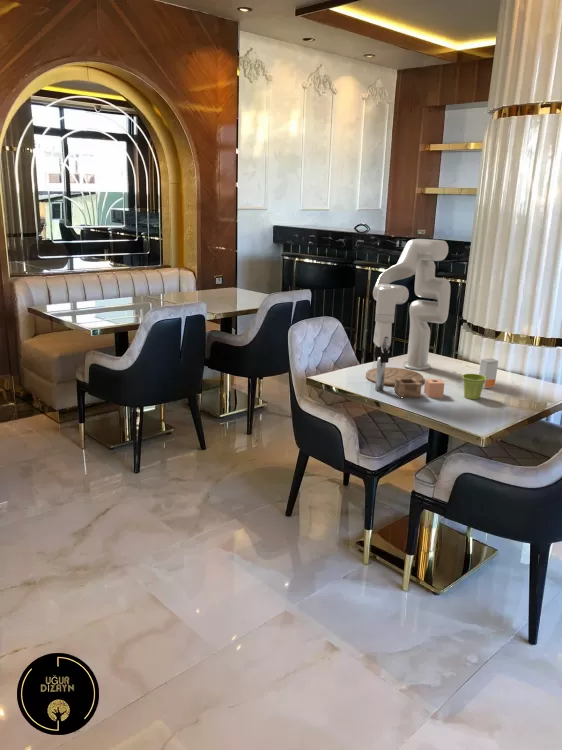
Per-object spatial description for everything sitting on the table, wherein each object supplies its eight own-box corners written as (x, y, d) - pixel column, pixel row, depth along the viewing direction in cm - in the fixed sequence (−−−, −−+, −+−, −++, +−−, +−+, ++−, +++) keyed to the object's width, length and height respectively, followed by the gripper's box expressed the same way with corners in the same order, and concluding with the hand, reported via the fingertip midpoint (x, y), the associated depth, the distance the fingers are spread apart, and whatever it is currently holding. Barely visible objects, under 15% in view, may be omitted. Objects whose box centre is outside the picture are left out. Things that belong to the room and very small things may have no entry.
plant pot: (466, 401, 245) (469, 380, 242) (455, 394, 254) (457, 373, 251) (488, 400, 247) (490, 379, 244) (476, 393, 255) (479, 373, 253)
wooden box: (394, 392, 254) (395, 378, 252) (413, 392, 255) (415, 378, 253) (399, 398, 246) (400, 384, 244) (420, 398, 247) (421, 384, 245)
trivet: (430, 377, 277) (430, 373, 277) (412, 391, 256) (412, 387, 256) (377, 368, 289) (378, 364, 288) (356, 381, 268) (357, 377, 268)
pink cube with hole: (423, 392, 254) (425, 378, 252) (437, 392, 255) (439, 378, 253) (428, 397, 248) (429, 383, 247) (442, 397, 249) (444, 383, 247)
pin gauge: (374, 389, 257) (376, 356, 253) (382, 389, 257) (384, 356, 253) (376, 391, 253) (378, 358, 249) (384, 391, 254) (386, 358, 250)
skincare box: (483, 388, 262) (487, 361, 258) (477, 385, 265) (480, 359, 262) (495, 387, 264) (498, 360, 260) (488, 384, 268) (491, 358, 264)
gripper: (370, 314, 254) (367, 354, 259) (380, 321, 238) (377, 364, 242) (388, 314, 255) (384, 354, 260) (399, 322, 239) (395, 365, 243)
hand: (381, 359), depth 251 cm, fingers open, 9 cm apart
